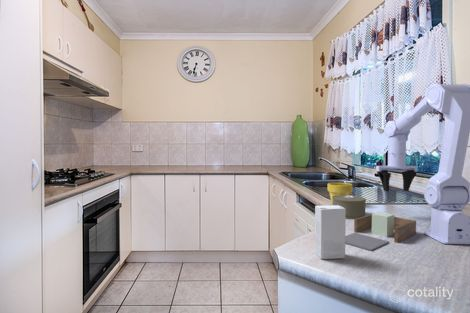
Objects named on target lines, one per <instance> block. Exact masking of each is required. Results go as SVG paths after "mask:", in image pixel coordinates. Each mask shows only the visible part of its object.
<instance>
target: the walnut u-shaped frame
mask: <svg viewBox="0 0 470 313" xmlns="http://www.w3.org/2000/svg"><path fill="white" fill-rule="evenodd" d="M374 213H375V212H373V213H371V214H365V216H363V217H360V218H356V219H353V220H354V223H353V224H354V226H353V233H359V232H362V231H364V230H368V229H372V214H374ZM416 234H417V220H414V219H413V220H412V219H409V218H403V217H398V216H394V234H393V236H394V238H393V239H394V243H400V242H401V241H403V240H406V239H408V238H410V237H412V236H415V235H416Z"/></svg>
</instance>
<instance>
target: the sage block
mask: <svg viewBox="0 0 470 313" xmlns="http://www.w3.org/2000/svg"><path fill="white" fill-rule="evenodd" d="M373 213H374V214H373ZM373 213H371V214H372V227H371V234H373V235H377V236H380V237H384V238H389V237H390V236H392V235H393V236H394V234H395V230H394V217H395V214H393V213H392V214H391V213H387V212H382V211H377V212H373Z"/></svg>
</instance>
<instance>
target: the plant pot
mask: <svg viewBox="0 0 470 313" xmlns="http://www.w3.org/2000/svg"><path fill="white" fill-rule="evenodd" d="M327 192H328V194H329V198H330V204H331V205H333V199H332V197H333V196H337V195H350V196H351V194H352V192H353V184H352V183H349V182H328V183H327Z"/></svg>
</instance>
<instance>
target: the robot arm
mask: <svg viewBox="0 0 470 313" xmlns="http://www.w3.org/2000/svg"><path fill="white" fill-rule="evenodd" d="M432 110H436V111H437V112H439V113H441V114H443V116H445V118H446V124H445V129H444V133H443V134H444V136H443V141H442V146H441V152H440V153H441V154H440V160H439V164H438V171H437V173H436V174H434V175H433V176H431V177H430V178H429V179H428V183H427V185H426V187H425V189H424V193H423V194H424V195H423V197H424V200H425V202H426V203H427V204H428V206H429V207H431V208H430V231H424V232H423V234H424V235H426V236H428V237H430V238H432V239H434V240H436V241H437V242H440V243H441V244H444V245H445V244H446V245H447V244H448V245H449V244H450V245H470V217H469V216H468V214H466V213H465V212H464V210H465V209H466V206H467V205H469V203H470V181H469V180H467V179H466V178H465V177H464V176H463V172H464V171H463V170H464V165H465V160H466V155H467V149H468V144H469V139H470V138H469V137H470V84H468V83H461V84H459V83H458V84H456V83H453V84H451V83H444V84H443V83H439V82H438V83H433V84H432V85H430V86H429V87H428V88H427V89H426V90H425V92H424V97H423V98H422V99H421V101H419V102H418V104H416V105H415V106H414V107H413V109H412V108H411V109H405V110H404V112H403V113H402V114H401V115H399V116H398V117H397V118H395V120H389V121H387V123H386V125H385V126H384V128H385V129H384V133H385V135H386V137H388V141H387V142H388V143H387V145H388V147H387V149H388V150H387V165H376V166H375V171H376V173H377V174H376V175H378V178H379V179H380V181H381V184H382V188H383V192H389V191H390V180H391V176H392V173H391V172H401V174H402V175H401V176H402V187H403V188H402V189H403V191H404V192H409V191H410V188H411V184H412V183H413V180H414V178H415V177H416V176H417V172H418V166H417V165H406V163H407V162H406V161H407V158H406V157H407V142H408V140H409V135H410V132H411V130H412V129H413V128H414V127H416V126H417V125H418V124H420V123H421V121H422V117H424V116H425V115H426V114H428V113H429V112H431V111H432Z"/></svg>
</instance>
